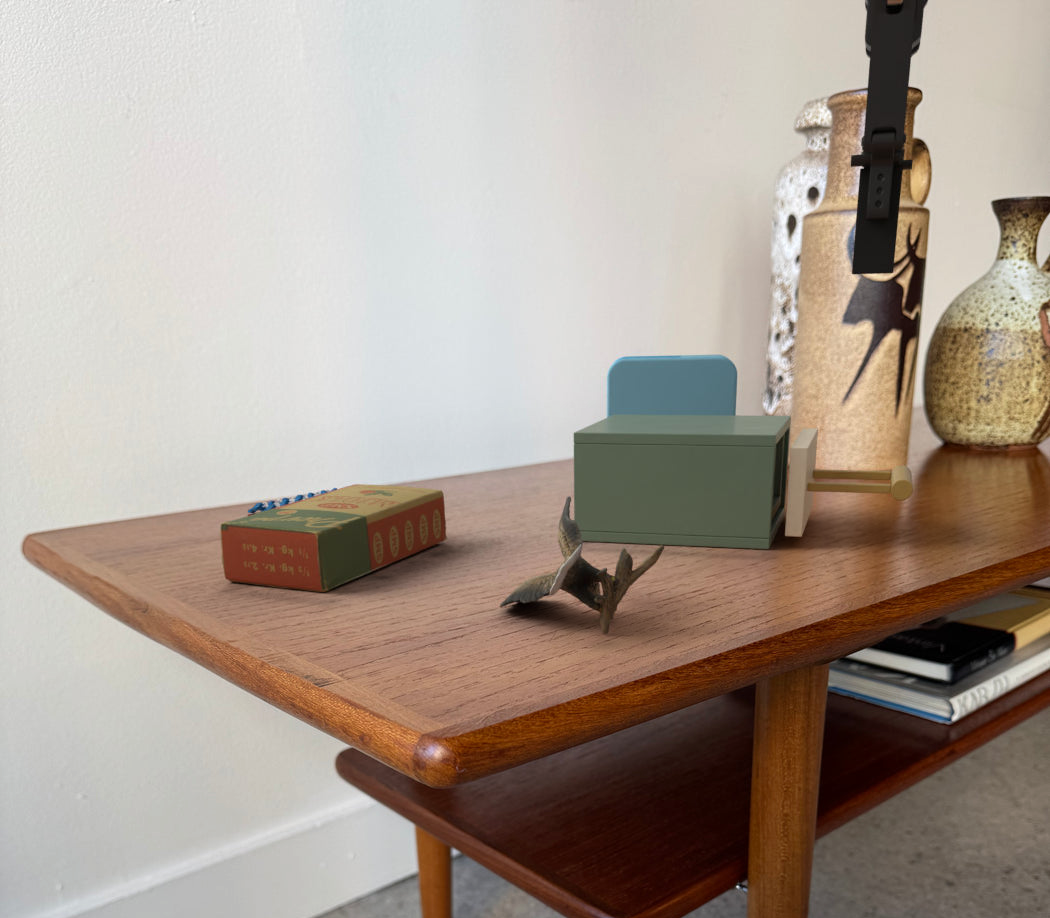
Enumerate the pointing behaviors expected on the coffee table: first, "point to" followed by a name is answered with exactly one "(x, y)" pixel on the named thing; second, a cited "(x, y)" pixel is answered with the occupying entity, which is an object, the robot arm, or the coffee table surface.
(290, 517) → the carton
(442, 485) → the coffee table surface
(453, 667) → the coffee table surface
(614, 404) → the blue rounded panel
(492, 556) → the coffee table surface
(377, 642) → the coffee table surface
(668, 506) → the cabinet
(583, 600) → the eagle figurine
